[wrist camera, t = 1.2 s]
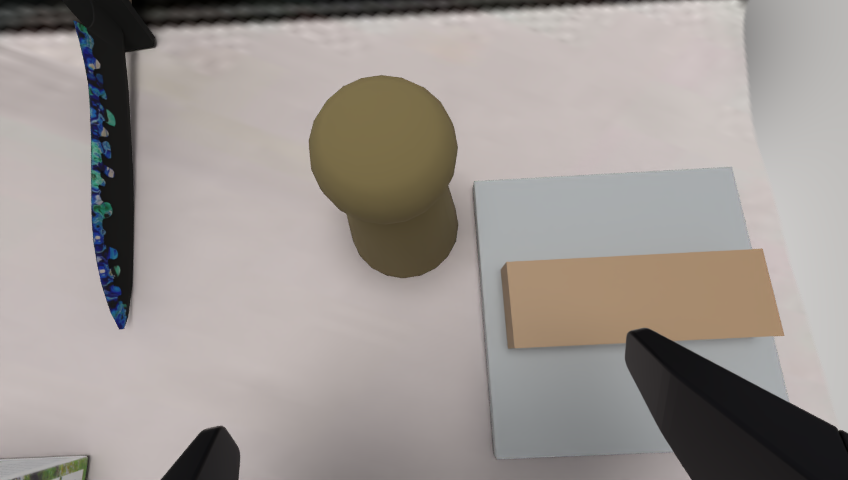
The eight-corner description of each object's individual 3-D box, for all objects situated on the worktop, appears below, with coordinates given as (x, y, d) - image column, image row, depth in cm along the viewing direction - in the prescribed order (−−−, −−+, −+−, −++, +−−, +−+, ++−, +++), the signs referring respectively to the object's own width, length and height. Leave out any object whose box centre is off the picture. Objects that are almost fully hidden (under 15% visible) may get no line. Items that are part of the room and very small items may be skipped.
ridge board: (783, 442, 21) (839, 457, 18) (493, 454, 21) (502, 470, 18) (720, 174, 24) (758, 150, 21) (472, 187, 25) (477, 166, 22)
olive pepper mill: (479, 236, 24) (512, 144, 13) (390, 299, 23) (349, 257, 13) (417, 156, 25) (401, 14, 15) (331, 213, 24) (248, 109, 14)
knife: (112, -116, 30) (54, -189, 25) (155, -121, 30) (105, -195, 25) (110, 331, 25) (40, 337, 21) (161, 325, 25) (101, 330, 21)
